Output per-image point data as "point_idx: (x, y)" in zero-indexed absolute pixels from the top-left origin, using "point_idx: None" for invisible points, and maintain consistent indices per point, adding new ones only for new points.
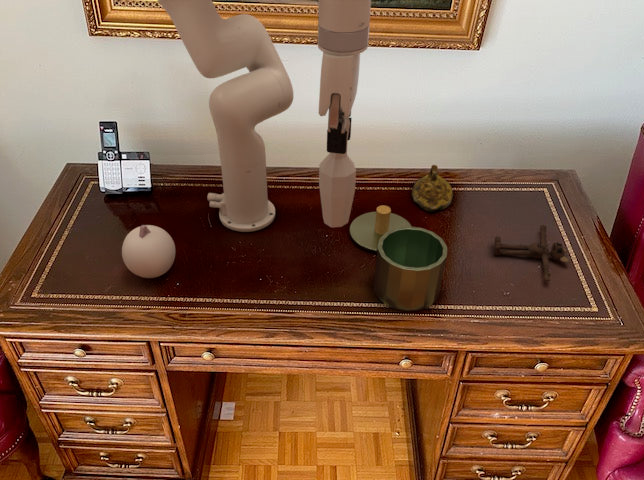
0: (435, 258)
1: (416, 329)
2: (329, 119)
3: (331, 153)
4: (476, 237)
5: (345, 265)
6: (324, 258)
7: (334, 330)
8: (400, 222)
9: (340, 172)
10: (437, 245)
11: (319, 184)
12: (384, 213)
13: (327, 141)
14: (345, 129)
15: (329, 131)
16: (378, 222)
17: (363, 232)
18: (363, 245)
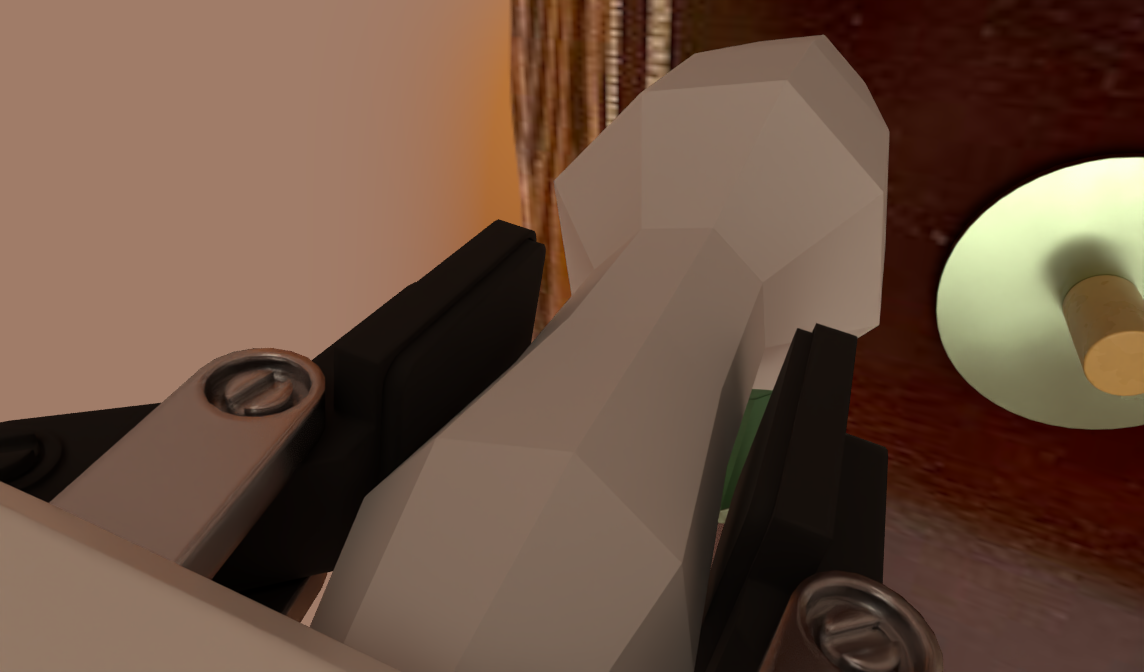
0: (738, 454)
1: (547, 295)
2: (68, 507)
3: (620, 252)
4: (976, 597)
5: (894, 105)
6: (968, 5)
7: (528, 32)
8: (1139, 395)
9: (574, 265)
10: (727, 492)
11: (783, 47)
12: (1087, 359)
13: (432, 274)
14: (319, 581)
15: (226, 378)
16: (1089, 310)
17: (1108, 221)
18: (997, 206)
